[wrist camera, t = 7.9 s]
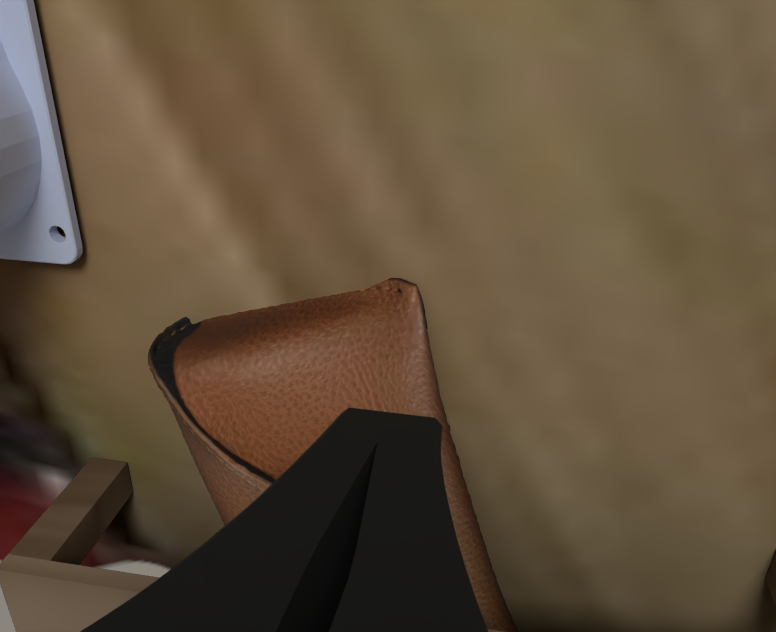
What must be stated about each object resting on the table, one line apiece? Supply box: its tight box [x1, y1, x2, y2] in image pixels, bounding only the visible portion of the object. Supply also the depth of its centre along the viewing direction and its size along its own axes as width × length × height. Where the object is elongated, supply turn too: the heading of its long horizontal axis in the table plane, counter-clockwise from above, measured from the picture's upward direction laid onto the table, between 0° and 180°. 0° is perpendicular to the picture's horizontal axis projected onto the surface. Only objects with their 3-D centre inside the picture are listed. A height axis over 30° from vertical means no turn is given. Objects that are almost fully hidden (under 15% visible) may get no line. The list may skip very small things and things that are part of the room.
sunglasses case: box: [148, 278, 519, 632], centre depth 23 cm, size 18×7×7 cm, turn 18°
